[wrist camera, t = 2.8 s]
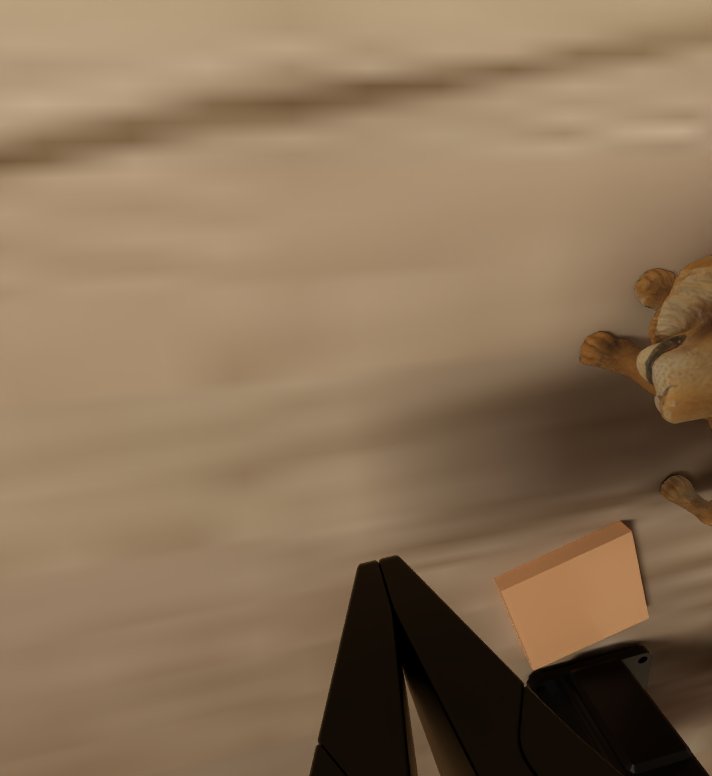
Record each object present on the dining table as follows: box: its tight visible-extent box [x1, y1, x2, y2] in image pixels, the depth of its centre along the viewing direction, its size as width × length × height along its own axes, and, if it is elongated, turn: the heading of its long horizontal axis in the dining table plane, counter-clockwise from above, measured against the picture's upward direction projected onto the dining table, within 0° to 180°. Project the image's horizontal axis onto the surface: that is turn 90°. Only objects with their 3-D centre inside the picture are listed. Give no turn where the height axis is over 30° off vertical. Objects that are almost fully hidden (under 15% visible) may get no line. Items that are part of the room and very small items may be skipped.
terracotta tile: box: [494, 521, 649, 671], centre depth 19 cm, size 6×6×1 cm
